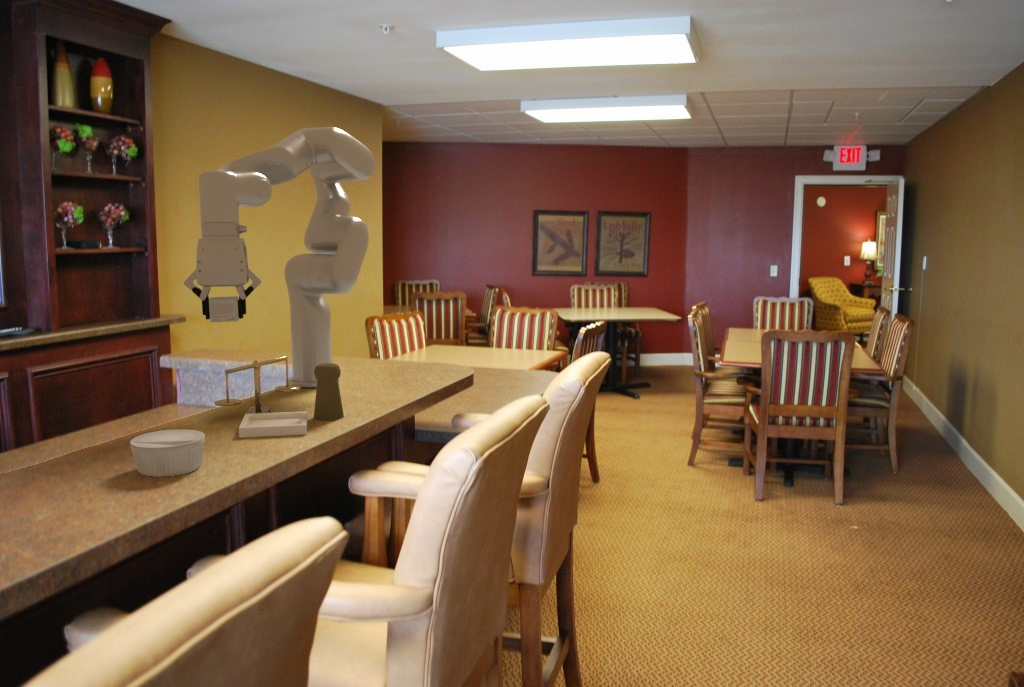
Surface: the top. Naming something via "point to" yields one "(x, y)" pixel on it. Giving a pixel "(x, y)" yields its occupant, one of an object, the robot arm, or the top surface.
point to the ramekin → (168, 452)
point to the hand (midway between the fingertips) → (224, 317)
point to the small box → (223, 309)
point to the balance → (257, 386)
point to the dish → (274, 424)
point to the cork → (328, 392)
